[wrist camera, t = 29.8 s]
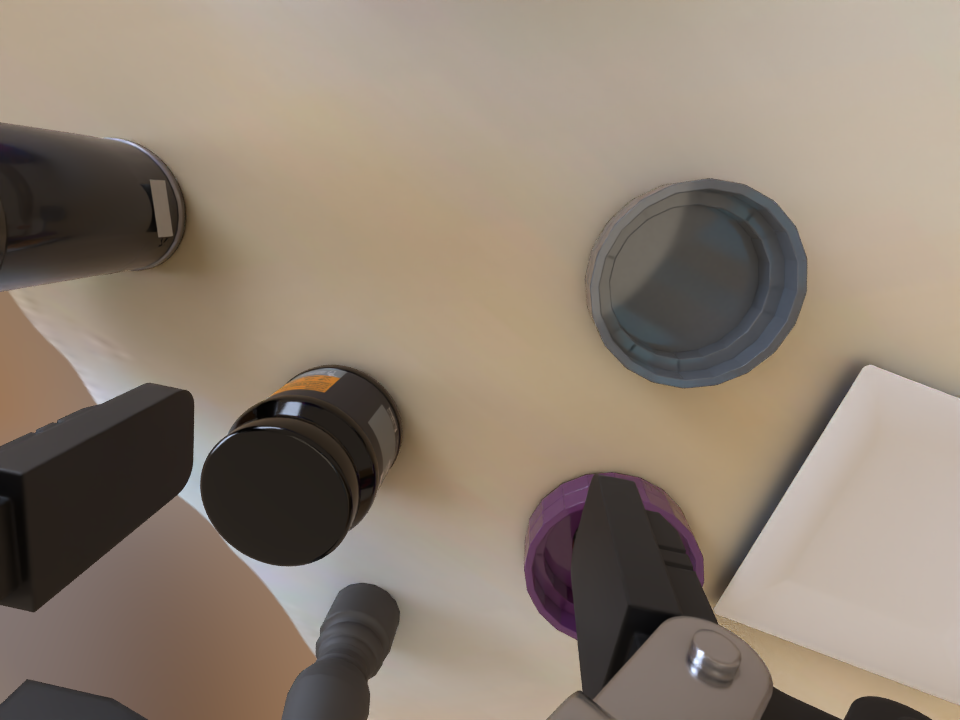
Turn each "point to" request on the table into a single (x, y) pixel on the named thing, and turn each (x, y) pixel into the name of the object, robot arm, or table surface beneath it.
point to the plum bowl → (555, 537)
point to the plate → (868, 540)
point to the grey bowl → (696, 282)
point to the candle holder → (346, 657)
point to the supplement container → (302, 466)
